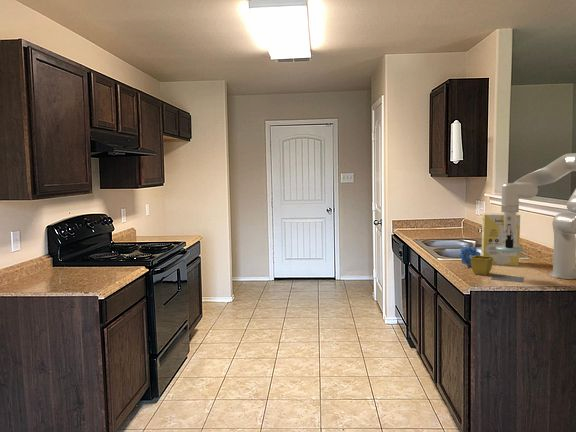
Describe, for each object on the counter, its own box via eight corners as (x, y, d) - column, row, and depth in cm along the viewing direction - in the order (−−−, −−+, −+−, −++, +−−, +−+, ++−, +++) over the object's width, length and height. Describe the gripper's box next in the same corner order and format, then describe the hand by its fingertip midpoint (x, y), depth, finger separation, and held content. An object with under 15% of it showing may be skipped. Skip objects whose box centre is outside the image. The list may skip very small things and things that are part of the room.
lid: (523, 248, 232) (524, 235, 231) (522, 252, 222) (522, 239, 221) (497, 247, 238) (497, 234, 237) (494, 251, 227) (494, 238, 227)
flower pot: (475, 272, 248) (475, 255, 247) (493, 274, 243) (493, 256, 242) (469, 275, 242) (470, 257, 241) (487, 277, 236) (488, 259, 235)
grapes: (461, 268, 257) (461, 246, 256) (457, 266, 264) (458, 244, 262) (483, 268, 256) (483, 246, 255) (479, 266, 263) (479, 244, 261)
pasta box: (515, 262, 274) (516, 213, 271) (518, 265, 264) (520, 215, 261) (481, 260, 279) (482, 213, 276) (483, 264, 269) (484, 214, 266)
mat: (524, 278, 233) (524, 277, 233) (523, 283, 222) (523, 282, 222) (493, 275, 240) (493, 274, 240) (490, 280, 229) (490, 279, 229)
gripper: (517, 210, 219) (517, 250, 221) (519, 207, 233) (518, 244, 235) (499, 210, 222) (499, 249, 224) (502, 207, 237) (502, 244, 239)
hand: (509, 246), depth 230 cm, fingers closed on lid, 3 cm apart
